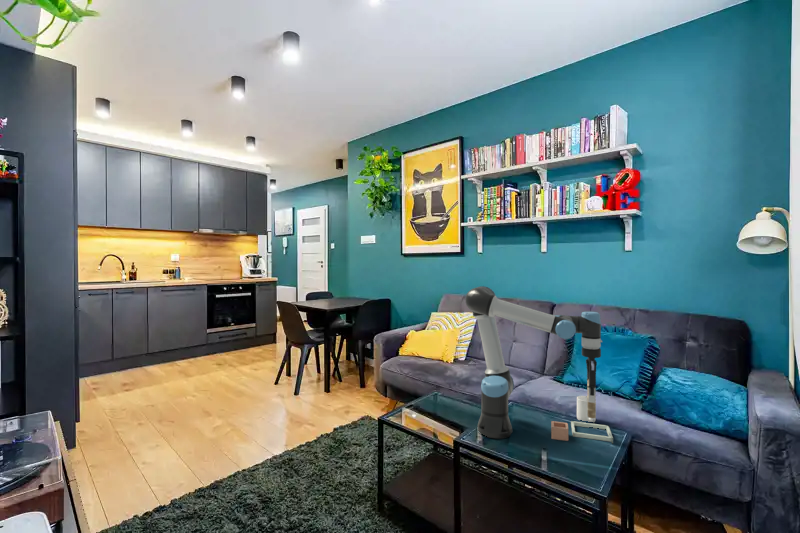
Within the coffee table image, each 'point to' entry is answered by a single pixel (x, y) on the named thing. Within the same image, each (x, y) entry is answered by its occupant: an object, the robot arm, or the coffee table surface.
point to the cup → (583, 409)
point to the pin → (591, 405)
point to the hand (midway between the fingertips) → (591, 400)
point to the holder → (559, 430)
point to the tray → (591, 436)
